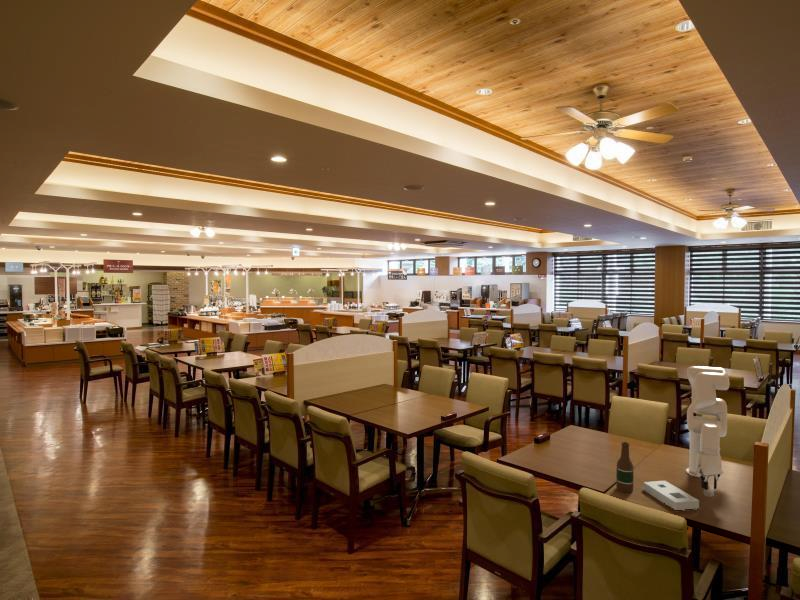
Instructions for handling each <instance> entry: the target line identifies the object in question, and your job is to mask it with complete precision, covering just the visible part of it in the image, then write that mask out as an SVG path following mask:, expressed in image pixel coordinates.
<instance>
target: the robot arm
mask: <svg viewBox="0 0 800 600" xmlns="http://www.w3.org/2000/svg"><path fill="white" fill-rule="evenodd" d="M686 376H687V379H688V382H689V384H690V386H691V403H690V405H689V406H688V408H687V410H686V427H687V430H688V431H689V462H688V463H689V464H688V465H689V467H687V468H686V469H685V472H686V474H687V475H689V476H691V477H694V478H698V479H700V481H701V483H700V484H701V485H700V487H701V488H702V489H703V490H704V489H705V490H708V482H707V477H708V475H714V490H717V488H718V487H717V484H718V481H719V478H720V477H721V476H722V475H723V474H724V472H723V470H722V469H723V468H722V467H723V466H722V457H721V453H720V451H721V449H722V448H721V447H720V445H721V443H720V442H721V438H724V437H726V436H727V434H728V405H727V402H726V401H725V400H724V399H722V398H718V397H717V393H716V390H717V391H728V390H729V388H730V378H729V375H728V373H727V371H726V370H725V368H723V367H717V366H716V367H715V366H714V367H713V366H703V365H702V366H700V365H697V366H696V365H693V366H689V367H687V369H686ZM694 413H695V414H698V416H697V415H696V416H694ZM700 415H702V416H700ZM703 415H704V416H703ZM707 416H713V417H714V418H713V417H707ZM715 417H716V418H715Z"/></svg>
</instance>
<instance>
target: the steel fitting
mask: <svg viewBox="0 0 800 600" xmlns="http://www.w3.org/2000/svg"><path fill="white" fill-rule="evenodd" d="M707 482H708V490H705V489H703V495H704V496H706V497H709V498H710V497H711V498H713V497H714V496H715V489H714V475H708V477H707Z"/></svg>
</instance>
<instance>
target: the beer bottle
mask: <svg viewBox="0 0 800 600" xmlns="http://www.w3.org/2000/svg"><path fill="white" fill-rule="evenodd" d="M620 445H621V453H620V457H619V458H618V460H617V462H616V472H615V473H616V477H615V478H616V480H615V481H616V483H615V484H616V485H615V486H616V488H617V490H618V491H619V492H622V493H629V494H630V493H632V492H634V471H635V470H634V465H633V461H631V459H630V443H629V442H627V441H622V442H621V444H620Z"/></svg>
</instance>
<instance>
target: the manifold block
mask: <svg viewBox="0 0 800 600" xmlns="http://www.w3.org/2000/svg"><path fill="white" fill-rule="evenodd" d="M642 490H643V491H644V492H646V493H647V494H649V495H651V496H652V497H653V498H655V499H656V500H658V501H660V502H661V503H663V504H664V503H665V504H664V505H666V506H667V505H668V506H667V507H669V506H670V507H672V508H673V509H675V510H682V511H686V510H685V509H693V510H698V509H697V508H699V509H700V500H699V499H697V498H696V497H694V496H692V495H691V494H689V493H687V492H685V491H684V490H682V489H680V488H679V487H677V486H675V485H673V483H672V484H671V483H670V482H668V481H667V480H655V481H643V489H642ZM670 507H669V508H670ZM672 508H671V509H672ZM694 508H695V509H694ZM673 509H672V510H673ZM675 510H674V511H675Z"/></svg>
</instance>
